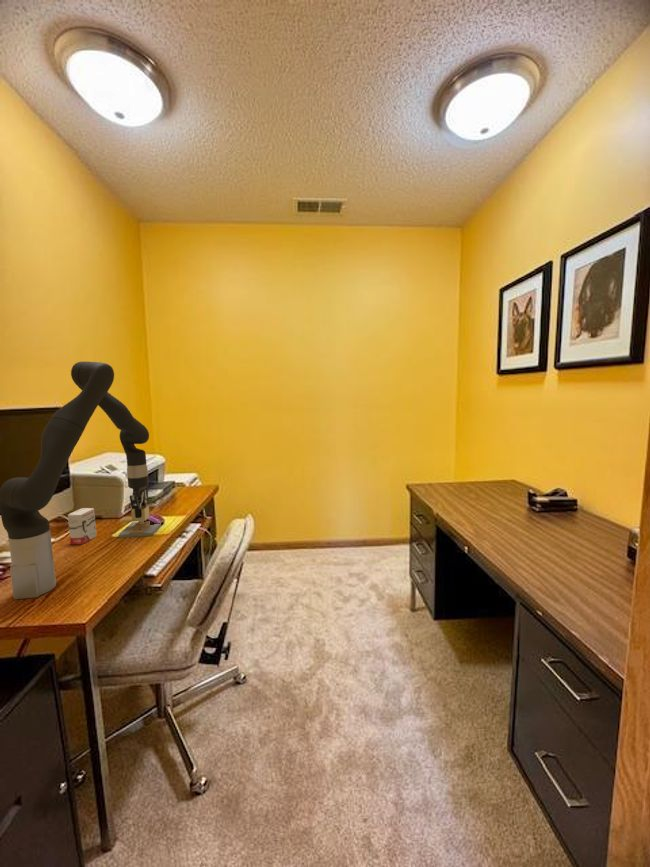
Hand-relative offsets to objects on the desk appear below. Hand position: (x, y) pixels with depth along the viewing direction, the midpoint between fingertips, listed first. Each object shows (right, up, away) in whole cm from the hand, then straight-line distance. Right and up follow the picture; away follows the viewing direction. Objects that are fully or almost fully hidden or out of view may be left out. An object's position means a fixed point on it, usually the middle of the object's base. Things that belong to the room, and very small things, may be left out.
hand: (141, 515), depth 149 cm
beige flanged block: (-3, -2, 0) cm, 3 cm away
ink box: (-18, -8, -9) cm, 21 cm away
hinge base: (0, -6, +1) cm, 6 cm away
